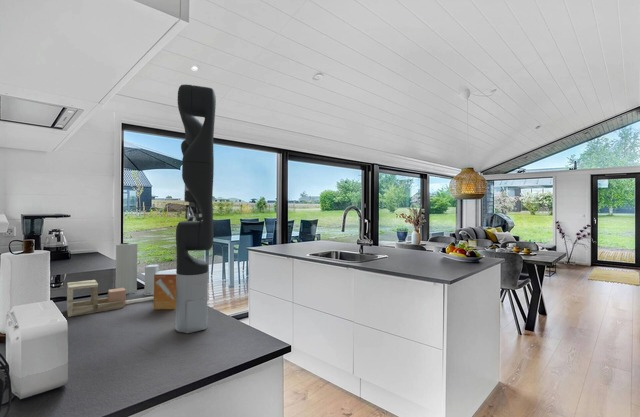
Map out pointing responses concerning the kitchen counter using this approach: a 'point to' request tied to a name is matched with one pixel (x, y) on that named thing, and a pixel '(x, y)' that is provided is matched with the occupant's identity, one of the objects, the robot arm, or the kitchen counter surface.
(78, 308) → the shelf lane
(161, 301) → the small box
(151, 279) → the skincare box
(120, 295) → the tethered block
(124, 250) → the tall grey box
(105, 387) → the kitchen counter surface
